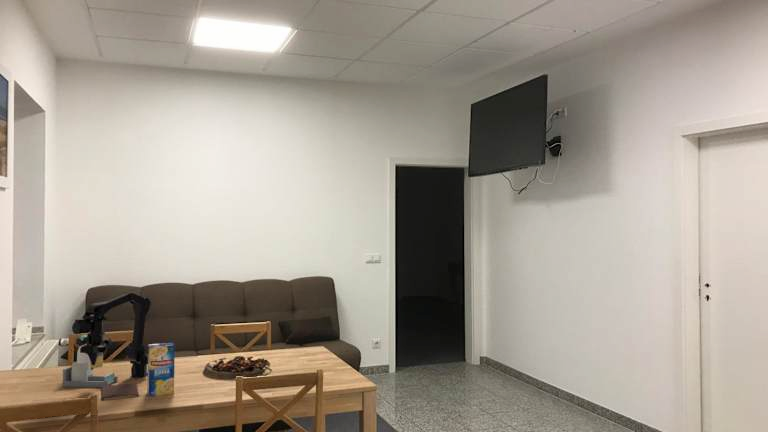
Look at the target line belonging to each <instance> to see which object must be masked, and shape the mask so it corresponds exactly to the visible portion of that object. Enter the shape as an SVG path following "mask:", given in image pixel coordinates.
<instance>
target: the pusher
mask: <svg viewBox="0 0 768 432" xmlns="http://www.w3.org/2000/svg"><path fill="white" fill-rule="evenodd" d="M103 376H104V381H108V385H112V383H115V382H114V376H115V372H114V371H113V372H111V373H109V374H107V375H103Z"/></svg>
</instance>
